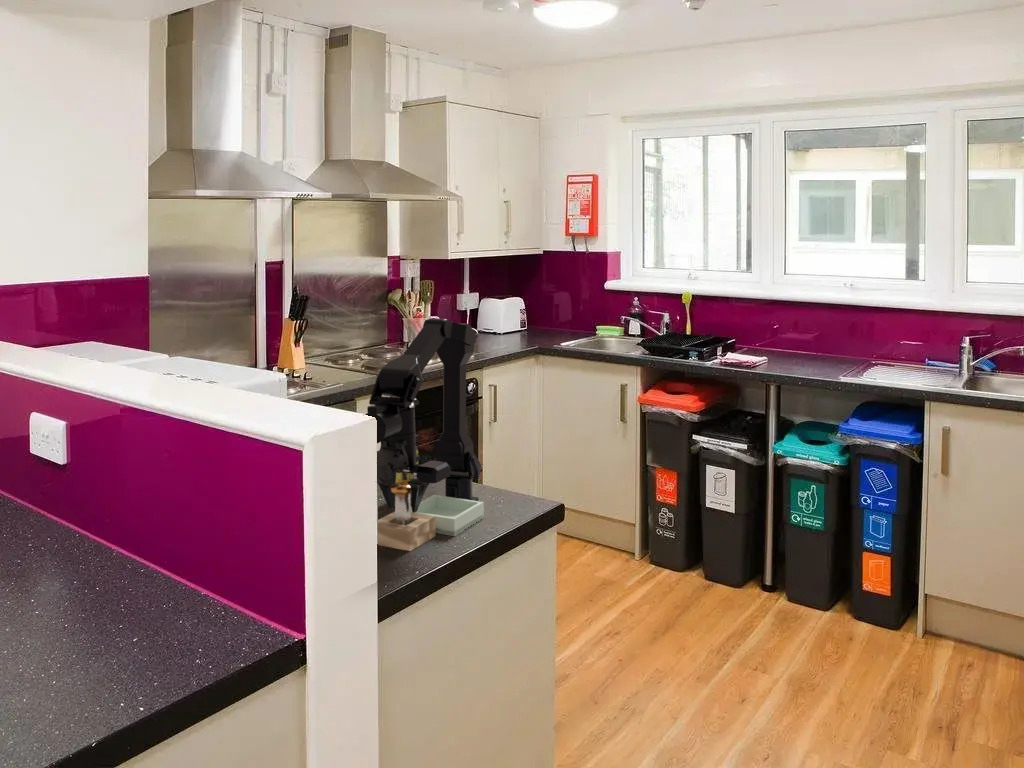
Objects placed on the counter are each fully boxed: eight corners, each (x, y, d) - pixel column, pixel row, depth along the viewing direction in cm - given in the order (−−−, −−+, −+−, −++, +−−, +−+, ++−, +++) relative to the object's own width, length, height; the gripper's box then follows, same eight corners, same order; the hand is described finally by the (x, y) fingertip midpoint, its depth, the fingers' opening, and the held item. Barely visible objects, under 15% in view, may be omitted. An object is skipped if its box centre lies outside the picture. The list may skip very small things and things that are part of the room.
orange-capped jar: (400, 534, 176) (398, 481, 174) (419, 538, 174) (417, 484, 172) (387, 541, 172) (386, 487, 170) (407, 545, 170) (405, 490, 168)
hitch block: (397, 529, 179) (396, 510, 178) (435, 536, 175) (435, 516, 174) (371, 543, 171) (370, 523, 170) (410, 551, 167) (409, 530, 166)
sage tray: (434, 510, 191) (434, 494, 190) (484, 518, 185) (483, 502, 185) (403, 527, 180) (403, 510, 179) (454, 536, 175) (454, 519, 174)
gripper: (334, 436, 166) (338, 515, 169) (418, 446, 158) (421, 530, 161) (369, 424, 176) (372, 499, 179) (450, 433, 168) (452, 512, 171)
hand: (402, 510), depth 172 cm, fingers open, 5 cm apart
